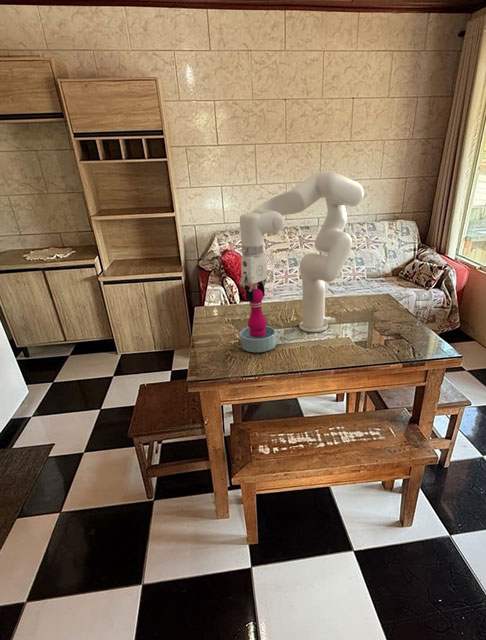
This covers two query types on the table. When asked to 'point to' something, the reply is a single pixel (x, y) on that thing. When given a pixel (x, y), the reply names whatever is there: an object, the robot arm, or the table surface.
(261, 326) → the pepper mill
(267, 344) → the bowl
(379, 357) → the table surface
